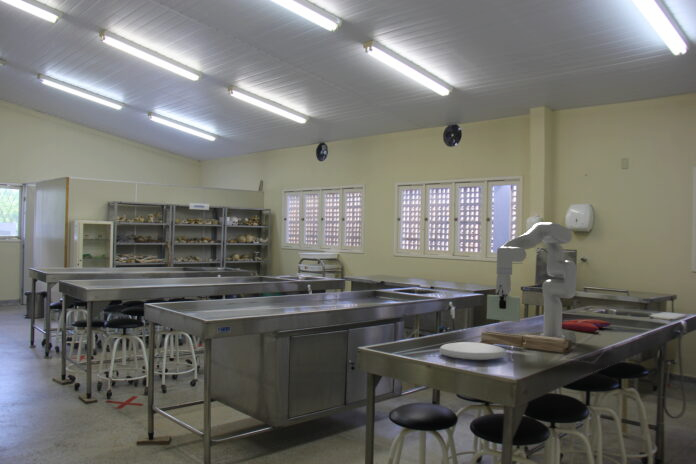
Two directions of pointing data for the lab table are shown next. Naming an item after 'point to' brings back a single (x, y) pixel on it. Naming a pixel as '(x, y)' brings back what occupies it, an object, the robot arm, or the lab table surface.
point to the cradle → (502, 338)
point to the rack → (547, 343)
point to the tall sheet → (503, 314)
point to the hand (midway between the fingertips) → (503, 308)
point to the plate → (472, 351)
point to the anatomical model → (585, 325)
